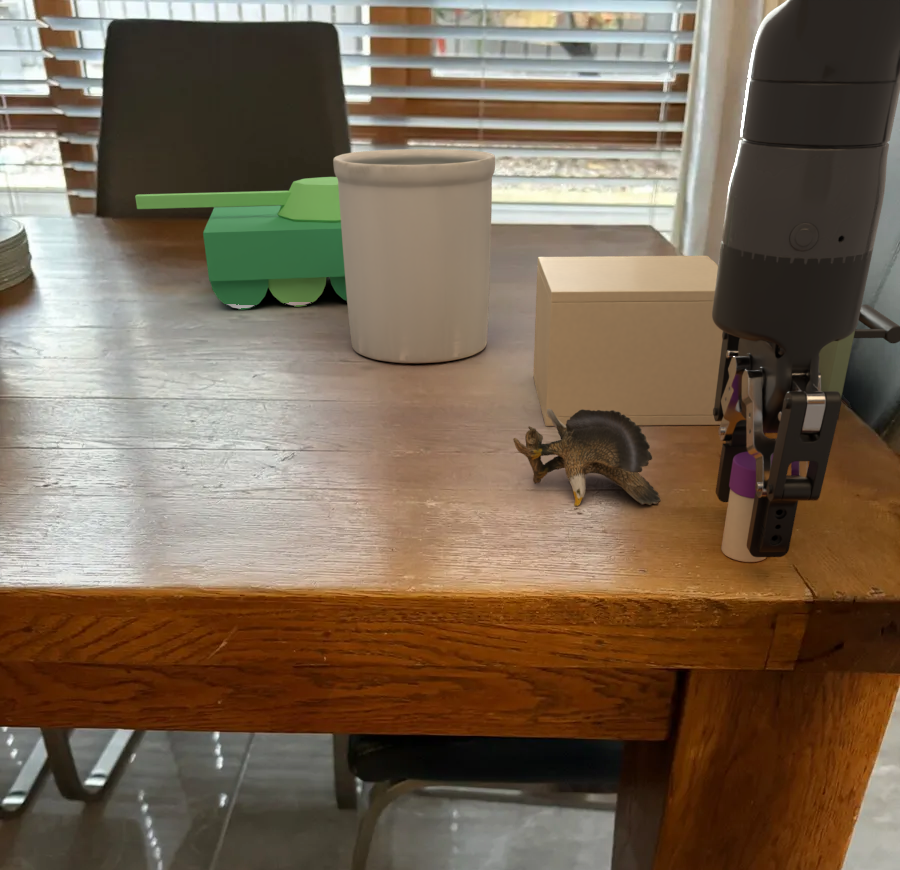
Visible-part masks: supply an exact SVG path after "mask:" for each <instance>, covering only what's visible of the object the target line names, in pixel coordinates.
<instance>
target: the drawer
mask: <svg viewBox="0 0 900 870" xmlns="http://www.w3.org/2000/svg"><path fill="white" fill-rule="evenodd" d="M858 322H860V323H861V324H863V325H864V326H866V327H867V328H856V329H855V331H854V332H853V333H852V334H851V335H849V336H848V337H846V338H844V339H842V340H839V341H833V342H831V343H829V344H827V345H826V346H824V347H823V348H822V349H821V350H820V353H819V357H820V359H819V371H820V374H821V391H838V392H839V393H840V396H841V398H842V396H843V392H844V386H845V382H846V377H847V372H848V367H849V362H850V358H851V354H852V348H853V342H854V339H884V340H885V341H887V342H888V343H889V344H897V343H900V325H899V324H898V323H896V322H895V321H894V320H892V319H890V318H888V317H887V316H886V315H884V314H882V313H881V312H880V311H879V310H877V309H875V308H874V307H873V306H870V305H869V304H866V303H864V304H862V305H861V310H860V315H859V320H858Z"/></svg>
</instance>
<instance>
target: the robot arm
mask: <svg viewBox="0 0 900 870" xmlns="http://www.w3.org/2000/svg"><path fill="white" fill-rule="evenodd" d="M747 78H748V79H747V82H746V90H745V98H744V105H743V112H742V120H741V127H740V136H739V137H740V138H741V139H739V142H738V148H737V152H736V157H735V162H734V164H733V168H732V172H731V175H730V179H729V184H728V190H727V194H726V195H727V196H726V204H725V211H724V218H723V228H722V236H721V240H720V241H721V242H720V247H719V248H720V249H719V256H718V264H717V265H718V271H717V279H716V286H715V294H714V302H713V310H712V318H713V321H714V323H715V324H716V326H717V327H718V328H719V329H721V330H722V331H723V333H722V347H721V356H720V364H719V372H718V380H717V389H716V397H715V405H714V408H713V416H714V419H715V421H721V424H720V425H719V427H718V430H717V433H718V436H719V440H720V442H723V443H722V444H721V451H720V458H719V465H718V473H717V477H716V478H717V479H716V486H715V495H716V496H717V498H718V500H719V501H720V502H721V503H728V501H729V494H730V487H729V482H730V476H731V469H732V463H733V458H734V456H735V455H737V454H739V453H742V452H748V453H749V454H750V455H752V456H754V457H755V459H756V484H755V490H756V493H755V497H754V503H753V509H752V515H751V521H750V527H749V533H748V539H747V548H748V550H749V552H750V554H751V555H752V556H754V557H766V558H781V557H784V556H786V555H787V554H788V552H789V550H790V546H791V540H792V535H793V530H794V524H795V520H796V514H797V510H798V504H799V502H801V501H804V502H805V501H806V502H807V501H809V502H810V501H811V502H814V501H819V499H820V496H821V493H822V489H823V484H824V480H825V476H826V472H827V466H828V464H829V458H830V454H831V449H832V447H833V441H834V438H835V433H836V429H837V424H838V419H839V417H840V416H839V415H840V411H841V407H842V397H841V396H840V393H839V392H838V391H821V374H820V371H819V359H820V357H819V353H820V350H821V349H822V348H823V347H824V346H826V345H827V344H829V343H831V342H833V341H839V340H842V339H844V338H846V337H848V336H849V335H851V334H852V333H853V332H854V331H855V329H857V327H858V325H859V315H860V310H861V305H863V299H864V296H865V291H866V290H865V289H866V286H867V282H868V281H867V280H868V275H869V272H870V267H871V262H872V256H873V253H874V252H873V251H874V246H875V242H876V237H877V233H878V229H879V228H878V227H879V224H880V223H879V222H880V219H881V213H882V208H883V202H884V198H885V191H886V183H887V182H886V181H887V163H888V154H889V148H890V144H889V142H890V141H891V136H892V132H893V126H894V122H895V117H896V111H897V107H898V101H899V97H900V0H784V2H781V3H780V4H778V5H777V6H776V7H774V8H773V9H771V11H769V12H768V13H767V14H766V15H765V16H764V17H763V18H762V20H761V22H760V24H759V26H758V29H757V32H756V35H755V38H754V42H753V47H752V52H751V57H750V62H749V68H748V74H747ZM765 434H777V435H776V438H770V437H768V436H766V435H765ZM772 455H773V459H772V465H771V456H772ZM789 467H790V471H791V472H790V473H791V474H789V475H788V471H789Z"/></svg>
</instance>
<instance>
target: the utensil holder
mask: <svg viewBox="0 0 900 870" xmlns="http://www.w3.org/2000/svg"><path fill="white" fill-rule="evenodd" d="M332 163H333V164H332V165H333V172H334V175H335V177H337V179H338V189H339V203H340V215H341V230H342V243H343V256H344V269H345V281H346V294H347V301H346V303H347V315H348V323H349V334H350V342H351V347H352V349H353V350H354V352H356V353H357V354H358V355H361V356H363V357H365V358H368V359H370V360H371V359H372V360H377V361H381V362H388V363H396V364H431V363H432V364H433V363H444V362H450V361H456V360H461V359H465V358H469V357H472V356H474V355H477V354H478V353H480V352H482V351H483V350H484V349H485V348H486V347H487V344H488V332H489V331H488V328H489V311H490V288H491V287H490V284H491V248H492V247H491V244H492V243H491V241H492V240H491V239H492V211H493V209H492V206H493V205H492V204H493V203H492V200H493V176H494V173H495V170H496V156H495V154H494V153H491V152H488V151H480V150H468V149H452V148H451V149H450V148H448V149H447V148H446V149H445V148H443V149H442V148H426V149H425V148H420V149H419V148H411V149H410V148H409V149H406V148H404V149H403V148H402V149H379V150H378V149H377V150H363V151H362V150H361V151H352V152H347V153H342V154H339V155H336V156H335V157H333V160H332Z"/></svg>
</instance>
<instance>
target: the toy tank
mask: <svg viewBox="0 0 900 870" xmlns="http://www.w3.org/2000/svg"><path fill="white" fill-rule="evenodd" d="M134 199H135V203H136V204H135V206H136V209H137V210H152V209H153V210H154V209H155V210H156V209H184V208H185V209H190V208H191V209H193V208H194V209H195V208H213V209H212V211H211V214H210V215H209V218H208V221H207V222H206V225H205V227H204V230H203V232H202V236H203V243H204V251H205V260H206V267H207V274H208V282H209V283H210V286H211V290H212V291H213V293H214V295H215V296H216V298H217V299H218V300H219V301H220V302H221V303H222V304H223V305H225V304H236V305H238V304H239V305H256V306H257V305H259V304H260V303H261V302H262V301H263V299H264V298H265V297H266V295H267V292H268V290H269V291H270V293H271V295H272V296H273V297H274V298H276V300H277V301H279V302H280V303H282V304H284V303H289V302H312V303H314V302H316V301H317V300H318V298H320V296H321V295H322V294H323V293H324V289H325V287H326V285H327V278H329V279H330V284H331V286H332V288H333V290H334V292H335V294H336V295H338V296H339V297H340V298H341V299H342V300H344V301H346V302H347V294H346V281H345V269H344V256H343V243H342V230H341V215H340V203H339V189H338V179H337V177H336V176H321V177H309V178H308V177H307V178H301V179H298V180H293V182H292V183H291V185H290V187H289V189H288V190H261V191H259V190H258V191H257V190H255V191H224V192H222V191H221V192H219V191H218V192H185V193H181V192H180V193H150V194H149V193H148V194H147V193H146V194H145V193H144V194H142V193H141V194H136V195H135V197H134ZM295 307H297V308H299V307H306V305H296V306H295ZM248 309H250V308H241V309H239V310H241V311H243V310H244V311H245V310H248Z"/></svg>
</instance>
